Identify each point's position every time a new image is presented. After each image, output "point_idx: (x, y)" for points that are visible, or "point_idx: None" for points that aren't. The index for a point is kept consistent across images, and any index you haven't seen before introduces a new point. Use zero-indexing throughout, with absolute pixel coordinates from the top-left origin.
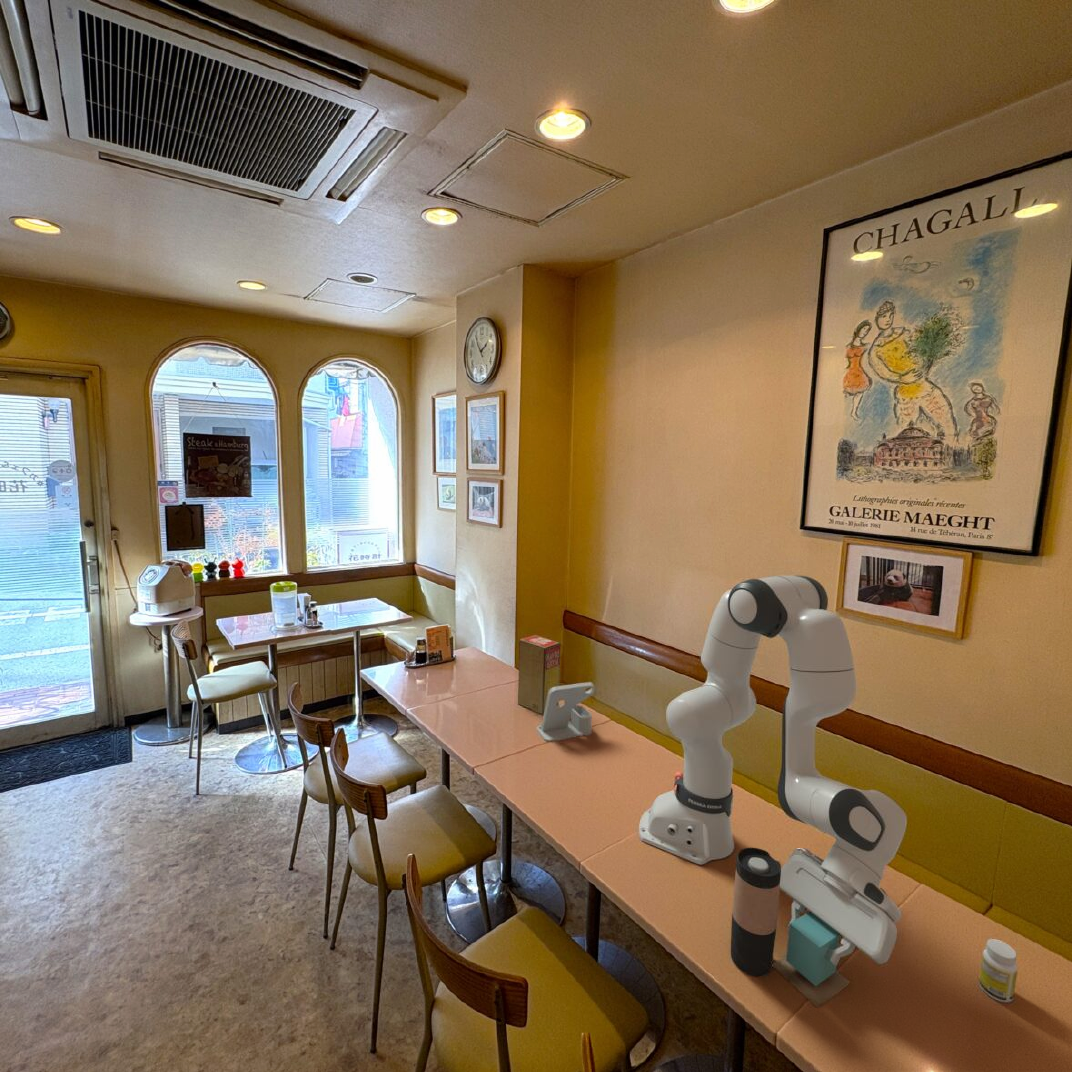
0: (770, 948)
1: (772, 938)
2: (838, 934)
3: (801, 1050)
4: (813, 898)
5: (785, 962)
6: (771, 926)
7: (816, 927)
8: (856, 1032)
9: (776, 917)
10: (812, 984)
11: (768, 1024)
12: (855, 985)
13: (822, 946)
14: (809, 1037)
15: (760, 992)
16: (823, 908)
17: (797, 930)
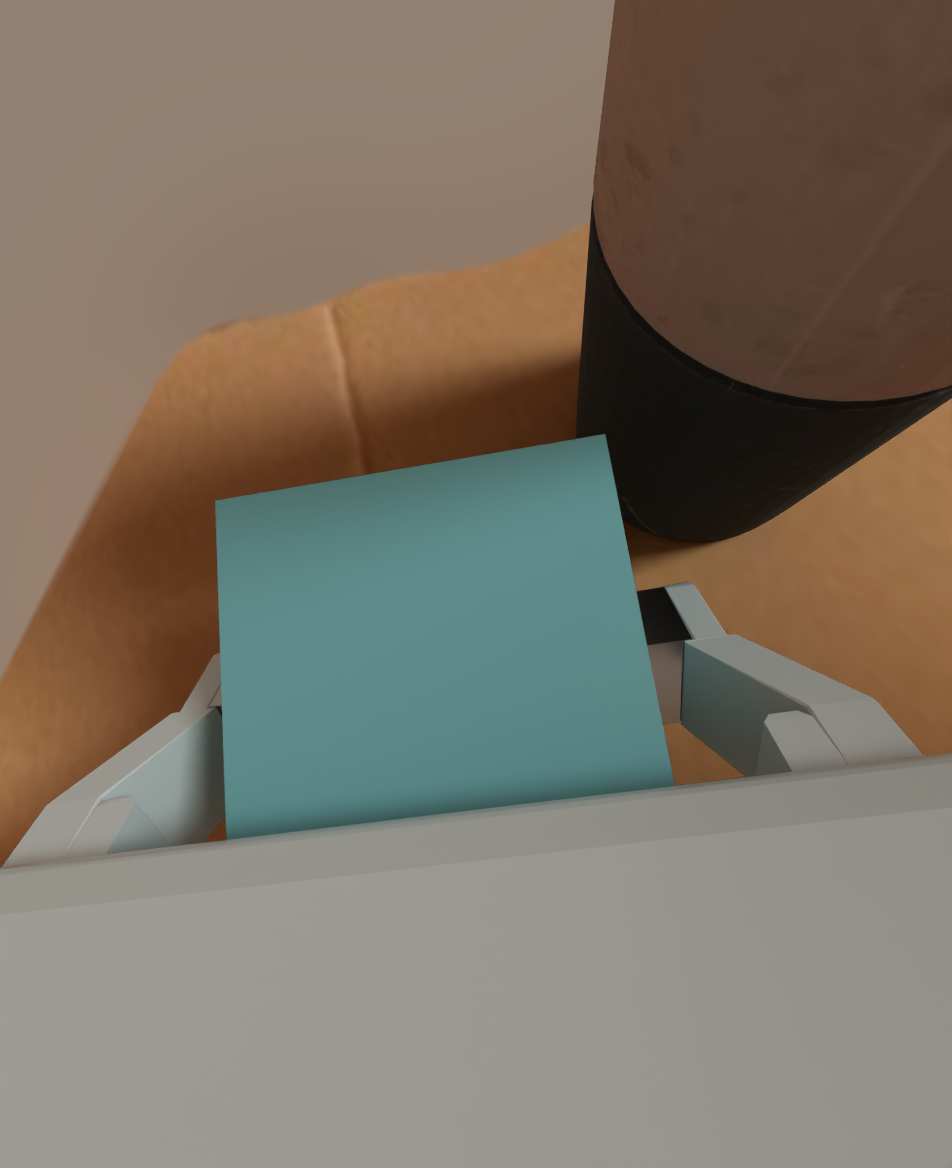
0: (587, 353)
1: (595, 303)
2: None
3: (229, 341)
4: (735, 1017)
5: None
6: (604, 137)
7: (431, 711)
8: (164, 639)
9: (652, 155)
10: None
11: (369, 288)
12: None
13: (221, 554)
14: (250, 412)
15: (507, 355)
16: (432, 986)
17: (494, 456)
